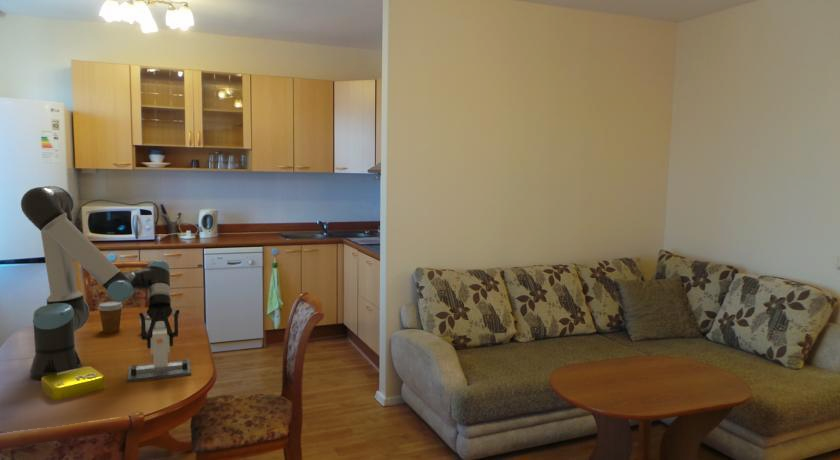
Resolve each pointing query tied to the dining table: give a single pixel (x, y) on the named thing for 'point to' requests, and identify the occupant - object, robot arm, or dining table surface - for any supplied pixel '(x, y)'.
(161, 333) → the block
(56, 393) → the element tile
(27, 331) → the dining table surface
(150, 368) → the mounting plate
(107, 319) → the disposable coffee cup
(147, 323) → the lidded jar
